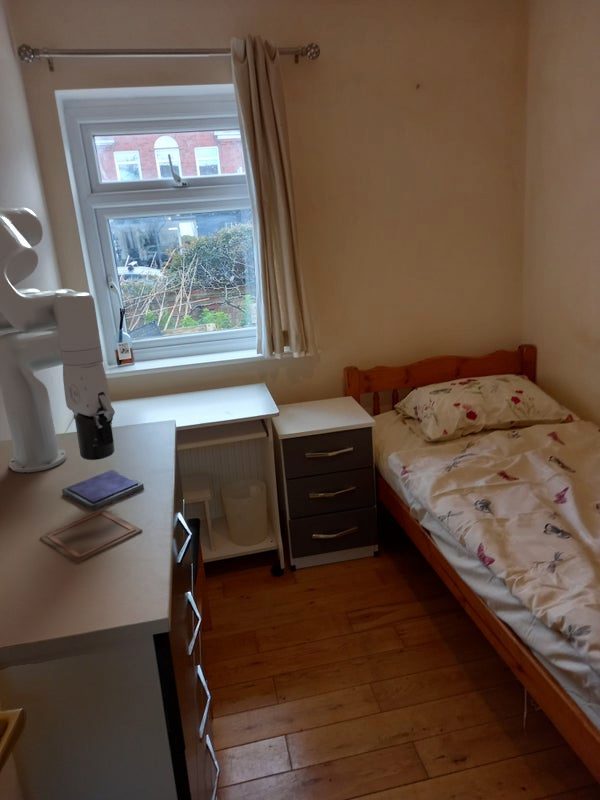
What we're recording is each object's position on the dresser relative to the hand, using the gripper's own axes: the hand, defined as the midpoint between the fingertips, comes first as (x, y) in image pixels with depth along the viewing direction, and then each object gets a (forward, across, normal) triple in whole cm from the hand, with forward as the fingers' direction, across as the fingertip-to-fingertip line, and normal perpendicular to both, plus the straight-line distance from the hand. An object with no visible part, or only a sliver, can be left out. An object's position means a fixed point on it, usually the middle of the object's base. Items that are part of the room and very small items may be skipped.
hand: (95, 439), depth 117 cm
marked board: (+12, +14, -11) cm, 21 cm away
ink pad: (+12, 0, 0) cm, 12 cm away
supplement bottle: (+3, 0, 0) cm, 3 cm away
